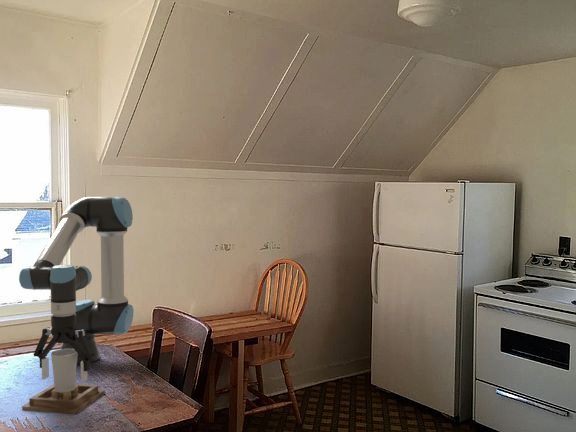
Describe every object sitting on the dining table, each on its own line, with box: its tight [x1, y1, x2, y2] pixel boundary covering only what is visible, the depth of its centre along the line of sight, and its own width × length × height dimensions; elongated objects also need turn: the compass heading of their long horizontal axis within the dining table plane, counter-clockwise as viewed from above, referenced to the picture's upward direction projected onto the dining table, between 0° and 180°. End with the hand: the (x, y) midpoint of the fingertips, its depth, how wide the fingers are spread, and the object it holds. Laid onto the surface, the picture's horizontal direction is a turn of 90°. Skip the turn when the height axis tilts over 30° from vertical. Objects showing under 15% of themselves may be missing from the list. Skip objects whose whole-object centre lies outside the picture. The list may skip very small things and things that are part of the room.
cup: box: [50, 349, 78, 393], centre depth 185 cm, size 8×8×12 cm
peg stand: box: [21, 383, 106, 415], centre depth 185 cm, size 18×18×4 cm
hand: (64, 379), depth 185 cm, fingers open, 13 cm apart
